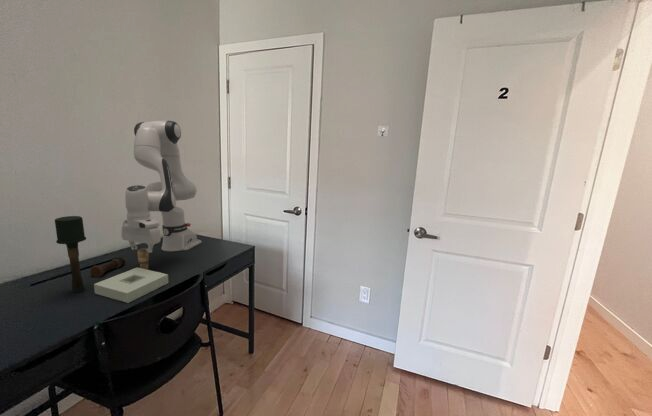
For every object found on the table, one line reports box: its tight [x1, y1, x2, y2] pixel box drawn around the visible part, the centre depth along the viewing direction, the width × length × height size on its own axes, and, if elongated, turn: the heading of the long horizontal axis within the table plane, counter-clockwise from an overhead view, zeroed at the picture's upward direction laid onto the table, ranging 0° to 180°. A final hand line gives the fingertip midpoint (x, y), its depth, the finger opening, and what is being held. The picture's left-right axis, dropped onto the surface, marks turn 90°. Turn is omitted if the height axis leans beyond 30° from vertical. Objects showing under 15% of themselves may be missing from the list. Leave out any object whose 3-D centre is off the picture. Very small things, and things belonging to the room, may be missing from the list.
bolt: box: [90, 257, 127, 278], centre depth 131 cm, size 6×5×15 cm
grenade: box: [54, 215, 87, 293], centre depth 109 cm, size 8×9×30 cm
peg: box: [136, 247, 150, 270], centre depth 130 cm, size 4×4×11 cm
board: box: [93, 267, 169, 304], centre depth 116 cm, size 18×18×4 cm
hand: (141, 251), depth 129 cm, fingers open, 8 cm apart
